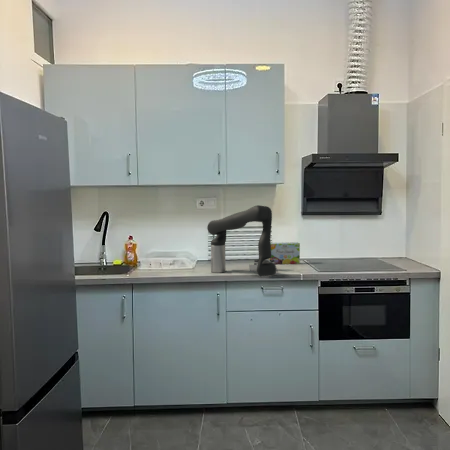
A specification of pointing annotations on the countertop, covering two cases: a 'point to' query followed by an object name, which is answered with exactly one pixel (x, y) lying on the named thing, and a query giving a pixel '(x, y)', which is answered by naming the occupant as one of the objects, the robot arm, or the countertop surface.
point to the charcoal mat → (254, 268)
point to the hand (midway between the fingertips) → (263, 260)
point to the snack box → (285, 253)
